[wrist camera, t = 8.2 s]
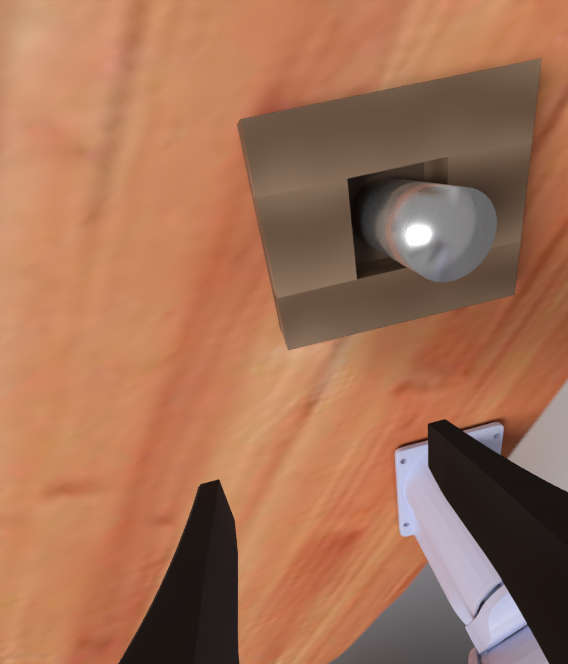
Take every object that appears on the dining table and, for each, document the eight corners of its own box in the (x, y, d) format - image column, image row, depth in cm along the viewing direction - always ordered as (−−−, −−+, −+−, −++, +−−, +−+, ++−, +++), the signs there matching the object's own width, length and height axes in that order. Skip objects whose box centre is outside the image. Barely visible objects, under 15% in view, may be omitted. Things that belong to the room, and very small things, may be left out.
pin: (413, 237, 19) (492, 270, 13) (353, 251, 18) (410, 291, 13) (412, 170, 17) (501, 177, 12) (347, 185, 17) (407, 198, 12)
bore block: (482, 280, 21) (514, 294, 19) (280, 328, 20) (288, 350, 18) (497, 72, 16) (541, 58, 14) (237, 124, 16) (240, 119, 13)
